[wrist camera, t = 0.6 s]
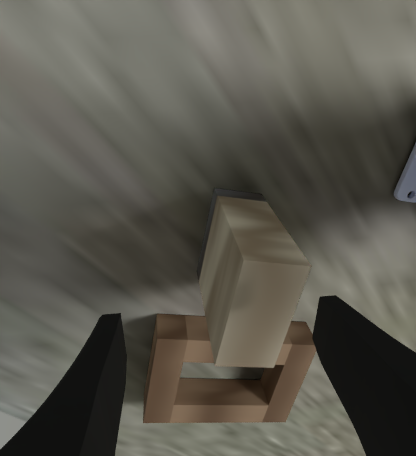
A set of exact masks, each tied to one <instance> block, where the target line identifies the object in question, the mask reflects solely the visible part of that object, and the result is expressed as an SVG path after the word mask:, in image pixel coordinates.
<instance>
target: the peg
mask: <svg viewBox="0 0 416 456" xmlns="http://www.w3.org/2000/svg"><path fill="white" fill-rule="evenodd" d="M311 267H312V266H311V265H310V263H309V262H308V260H307V259H306V258H305V256H304V255H303V253H302V252H301V250H300V249H299V247H298V246H297V245H296V243H295V242H294V240H293V239H292V237H291V236H290V235H289V233H288V232H287V230H286V229H285V227H284V226H283V224H282V223H281V222H280V220H279V219H278V217H277V216H276V214H275V213H274V211H273V210H272V209H271V207H270V206H269V204H268V203H267V201H266V200H265V198H264V197H263V196H262V194H256V193H249V192H241V191H233V190H226V189H218V188H214V191H213V196H212V201H211V206H210V211H209V215H208V220H207V225H206V230H205V235H204V239H203V244H202V249H201V254H200V259H199V263H198V268H197V274H198V280H199V285H200V290H201V295H202V301H203V306H204V311H205V316H206V322H207V327H208V332H209V338H210V343H211V348H212V353H213V359H214V364H215V366H227V367H264V368H274V366H275V363H276V361H277V358H278V355H279V353H280V350H281V347H282V345H283V342H284V339H285V336H286V334H287V331H288V328H289V326H290V323H291V320H292V318H293V315H294V312H295V310H296V307H297V304H298V302H299V299H300V296H301V294H302V291H303V288H304V286H305V283H306V280H307V277H308V275H309V272H310V269H311Z"/></svg>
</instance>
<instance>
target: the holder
mask: <svg viewBox="0 0 416 456" xmlns="http://www.w3.org/2000/svg"><path fill="white" fill-rule="evenodd" d="M312 336H313V334H312V333H311V331H310V329H309V327H308V325H307V323H306V322H294V321H291V323H290V326H289V328H288V331H287V334H286V336H285V339H284V342H283V345H282V347H281V350H280V353H279V355H278V358H277V361H276V363H275V366H274V368H265V369H264V371H263V374H262V377H261V380H244V379H194V378H180V374H181V370H182V365H183V362H201V363H214V359H213V353H212V348H211V343H210V338H209V332H208V327H207V322H206V317H205V316H187V315H170V314H157V317H156V323H155V329H154V335H153V342H152V348H151V354H150V360H149V367H148V373H147V379H146V385H145V392H144V413H143V423H212V422H286V420H287V417H288V415H289V413H290V410H291V408H292V406H293V403H294V401H295V399H296V396H297V394H298V392H299V389H300V387H301V385H302V383H303V380H304V378H305V376H306V373H307V371H308V369H309V366H310V364H311V362H312V359H313V357H314V355H315V352H316V348H315V345H314V342H313V339H312Z"/></svg>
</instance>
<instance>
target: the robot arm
mask: <svg viewBox="0 0 416 456" xmlns="http://www.w3.org/2000/svg"><path fill="white" fill-rule="evenodd" d="M409 192H411V194H410V195H409V196H407V195H408V193H409ZM394 197H395V198H396V199H398V200H400V201H406V202H413V203H416V143H415V146H414V148H413V150H412V152H411V155H410V157H409V159H408V161H407V164H406V166H405V168H404V170H403V173H402V175H401V177H400V179H399V182H398V184H397V186H396V188H395V191H394ZM312 339H313V342H314V345H315V348H316V351H317V353H318V356H319V358H320V361H321V364H322V366H323V368H324V370H325V372H326V374H327V376H328V377H329V379H330V381H331V383H332V385H333V387H334V389H335V391H336V393H337V395H338V397H339V398H340V400H341V402H342V404H343V406H344V408H345V410H346V412H347V414H348V416H349V418H350V419H351V421H352V423H353V426H354V428H355V430H356V432H357V434H358V436H359V439H360V441H361V444H362V446H363V449H364V451H365V454H366V456H416V353H415V352H414V351H412V350H411V349H409V348H408V347H406V346H405V345H403V344H402V343H400V342H399V341H397V340H396V339H394V338H393V337H391V336H390V335H388V334H387V333H386V332H384V331H383V330H381V329H380V328H379V327H377V326H376V325H375V324H373V323H372V322H371V321H369V320H368V319H367V318H365V317H364V316H363V315H361V314H360V313H359V312H357V311H356V310H355V309H353V308H352V307H351V306H349V305H348V304H347V303H345V302H344V301H343V300H341V299H340V298H339V297H337V296H336V295H335V296H323V297H320V298H319V304H318V309H317V314H316V320H315V325H314V331H313V336H312ZM126 362H127V354H126V347H125V340H124V333H123V326H122V320H121V313H117V314H105V315H102V316H101V317H100V318H99V320H98V322H97V324H96V326H95V328H94V330H93V331H92V333H91V335H90V337H89V338H88V340H87V342H86V343H85V345H84V347H83V348H82V350H81V351H80V353H79V355H78V356H77V358H76V359H75V361H74V362H73V364H72V365H71V367H70V368H69V370H68V371H67V372H66V374H65V375H64V377H63V378H62V379H61V381H60V382H59V384H58V385H57V386H56V388H55V389H54V390H53V392H52V393H51V394H50V395H49V397H48V398H47V399H46V400H45V402H44V403H43V404H42V405H41V406H40V408H39V409H38V410H37V411H36V412H35V413H34V415H33V416H32V417H31V418H30V419H29V420H28V421H27V422H26V423H25V424H24V426H23V427H22V428H21V429H20V430H19V431H18V432H17V433H16V434H15V435H14V436H13V437H12V439H10V440H9V441H8V442H7V444H5V446H3V447H2V449H0V456H115V449H116V443H117V437H118V430H119V424H120V417H121V411H122V404H123V398H124V391H125V384H126Z"/></svg>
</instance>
